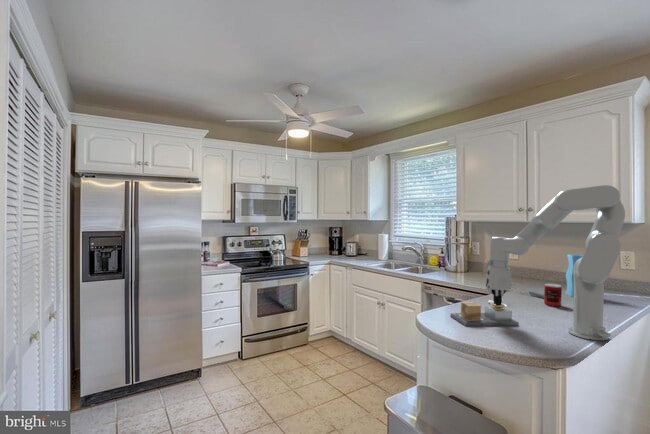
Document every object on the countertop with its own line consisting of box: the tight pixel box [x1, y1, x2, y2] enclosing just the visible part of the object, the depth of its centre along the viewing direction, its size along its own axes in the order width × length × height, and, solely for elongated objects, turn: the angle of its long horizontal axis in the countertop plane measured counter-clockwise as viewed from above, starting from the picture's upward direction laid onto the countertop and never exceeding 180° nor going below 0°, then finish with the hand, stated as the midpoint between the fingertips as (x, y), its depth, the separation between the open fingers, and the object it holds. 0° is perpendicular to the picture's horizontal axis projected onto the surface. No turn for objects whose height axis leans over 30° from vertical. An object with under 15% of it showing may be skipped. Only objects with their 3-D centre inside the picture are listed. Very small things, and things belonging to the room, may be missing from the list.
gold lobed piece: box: [491, 303, 506, 310], centre depth 150 cm, size 5×5×5 cm
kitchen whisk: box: [510, 282, 544, 299], centre depth 203 cm, size 6×33×6 cm, turn 23°
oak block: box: [460, 301, 482, 319], centre depth 149 cm, size 6×6×6 cm
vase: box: [565, 254, 584, 298], centre depth 202 cm, size 10×10×25 cm
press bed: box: [450, 305, 520, 327], centre depth 150 cm, size 14×24×6 cm, turn 95°
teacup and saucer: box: [487, 298, 508, 308], centre depth 179 cm, size 9×8×4 cm
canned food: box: [543, 283, 563, 308], centre depth 180 cm, size 8×8×11 cm
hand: (497, 304), depth 151 cm, fingers closed
